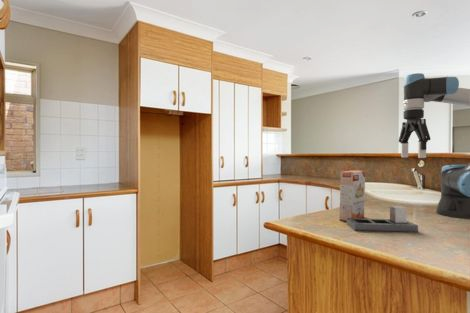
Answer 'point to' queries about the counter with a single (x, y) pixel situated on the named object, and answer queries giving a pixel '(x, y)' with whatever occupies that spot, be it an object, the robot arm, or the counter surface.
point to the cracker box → (352, 194)
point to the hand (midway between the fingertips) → (412, 157)
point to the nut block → (398, 214)
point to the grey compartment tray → (380, 225)
